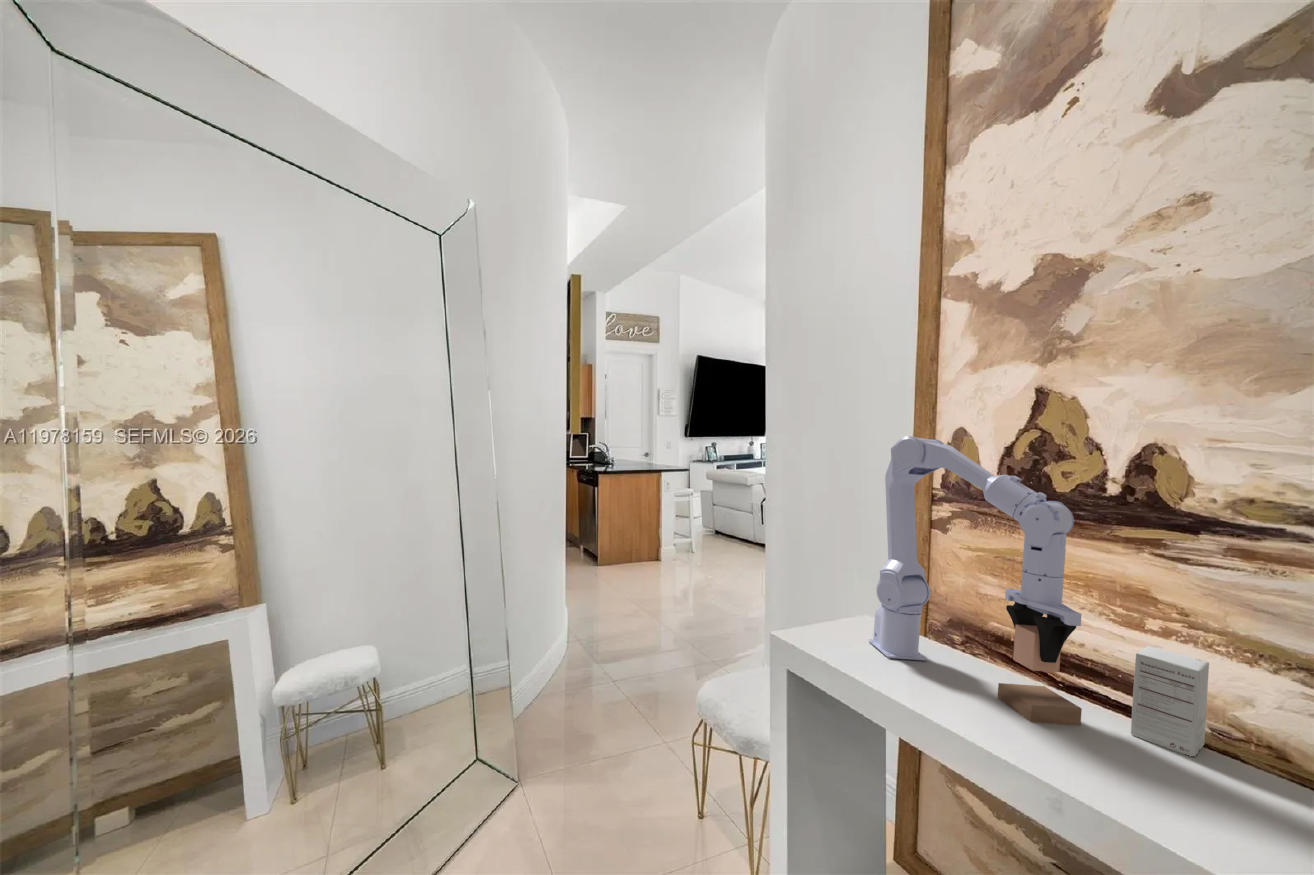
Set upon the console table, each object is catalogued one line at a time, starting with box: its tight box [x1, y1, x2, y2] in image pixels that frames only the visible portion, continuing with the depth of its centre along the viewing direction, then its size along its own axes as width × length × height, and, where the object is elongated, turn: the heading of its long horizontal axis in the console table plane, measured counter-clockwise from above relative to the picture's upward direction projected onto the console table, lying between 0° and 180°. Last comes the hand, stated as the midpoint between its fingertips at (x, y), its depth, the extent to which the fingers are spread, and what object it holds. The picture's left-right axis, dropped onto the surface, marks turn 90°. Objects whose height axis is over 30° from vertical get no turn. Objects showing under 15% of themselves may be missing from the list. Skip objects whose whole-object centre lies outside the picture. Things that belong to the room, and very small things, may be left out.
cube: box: [1012, 624, 1062, 673], centre depth 92 cm, size 4×4×6 cm
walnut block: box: [997, 682, 1083, 726], centre depth 90 cm, size 8×8×3 cm
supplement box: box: [1130, 646, 1210, 757], centre depth 84 cm, size 7×7×13 cm
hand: (1036, 655), depth 92 cm, fingers closed on cube, 4 cm apart
